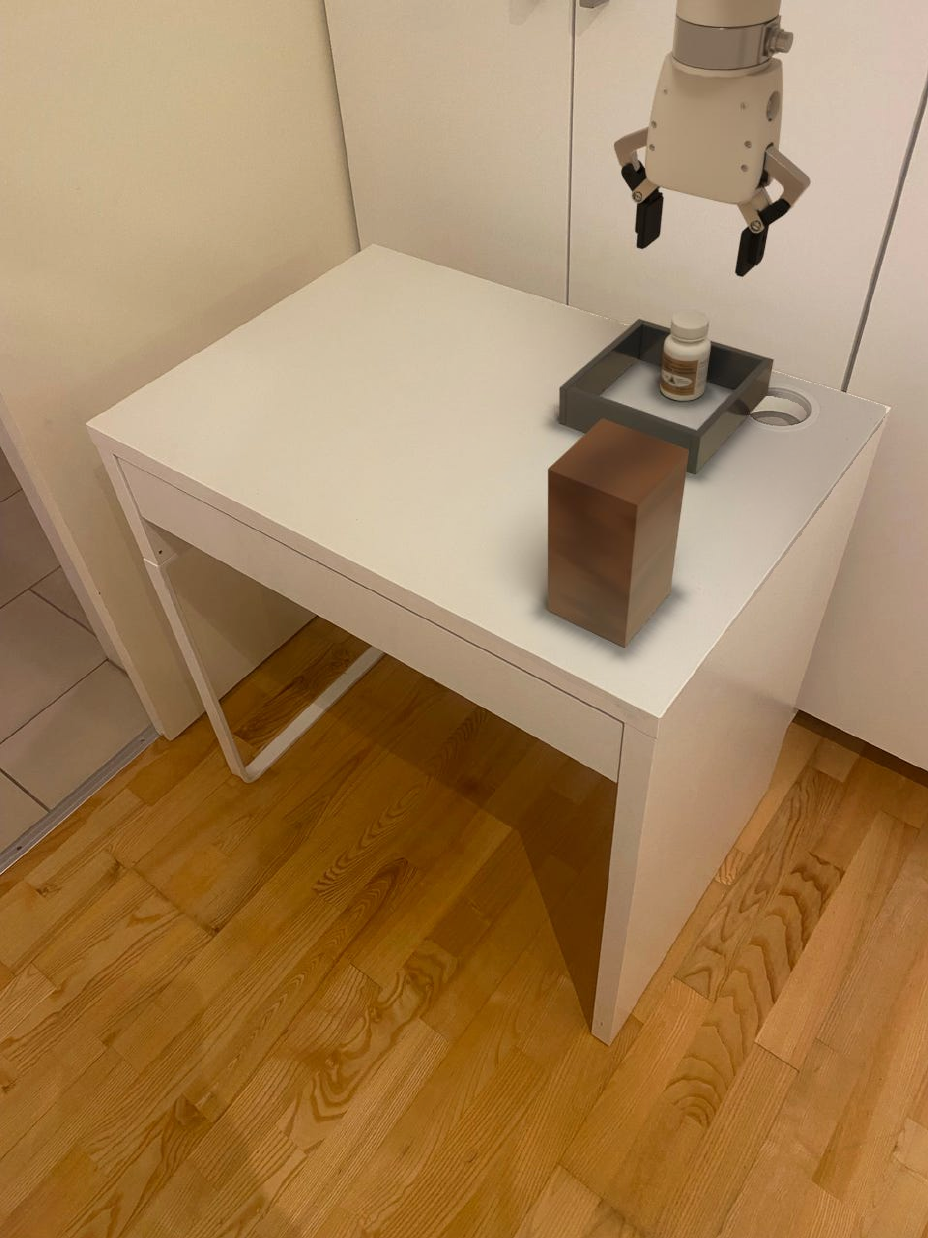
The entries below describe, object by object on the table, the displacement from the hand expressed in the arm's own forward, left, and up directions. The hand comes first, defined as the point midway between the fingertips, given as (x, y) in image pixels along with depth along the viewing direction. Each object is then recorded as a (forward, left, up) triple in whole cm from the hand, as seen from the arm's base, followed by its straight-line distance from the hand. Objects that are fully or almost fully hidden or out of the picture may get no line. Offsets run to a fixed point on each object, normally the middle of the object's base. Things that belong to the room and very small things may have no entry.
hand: (695, 255), depth 85 cm
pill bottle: (0, 0, -14) cm, 14 cm away
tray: (+1, +4, -14) cm, 14 cm away
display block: (+1, +31, -14) cm, 34 cm away
